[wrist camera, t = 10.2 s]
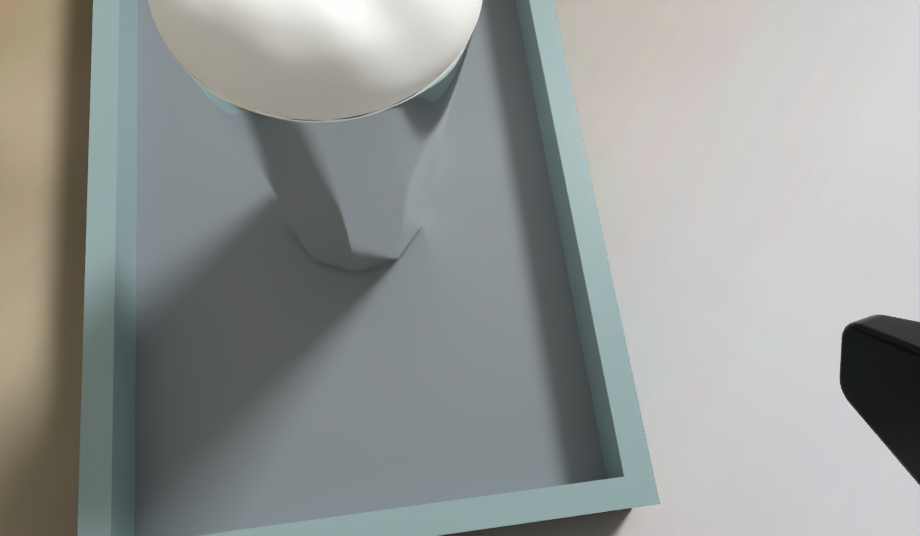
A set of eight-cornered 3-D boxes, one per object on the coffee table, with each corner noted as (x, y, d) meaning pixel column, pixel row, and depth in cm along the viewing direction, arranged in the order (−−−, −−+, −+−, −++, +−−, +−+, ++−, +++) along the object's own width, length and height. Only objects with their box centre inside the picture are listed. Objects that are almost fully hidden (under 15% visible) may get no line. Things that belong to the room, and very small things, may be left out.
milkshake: (444, 94, 19) (481, -334, 10) (456, 296, 17) (516, 11, 8) (262, 96, 19) (116, -346, 9) (255, 303, 17) (66, 14, 8)
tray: (634, 507, 16) (660, 504, 15) (111, 581, 15) (75, 587, 14) (517, -71, 22) (527, -122, 20) (121, -48, 21) (96, -101, 19)
